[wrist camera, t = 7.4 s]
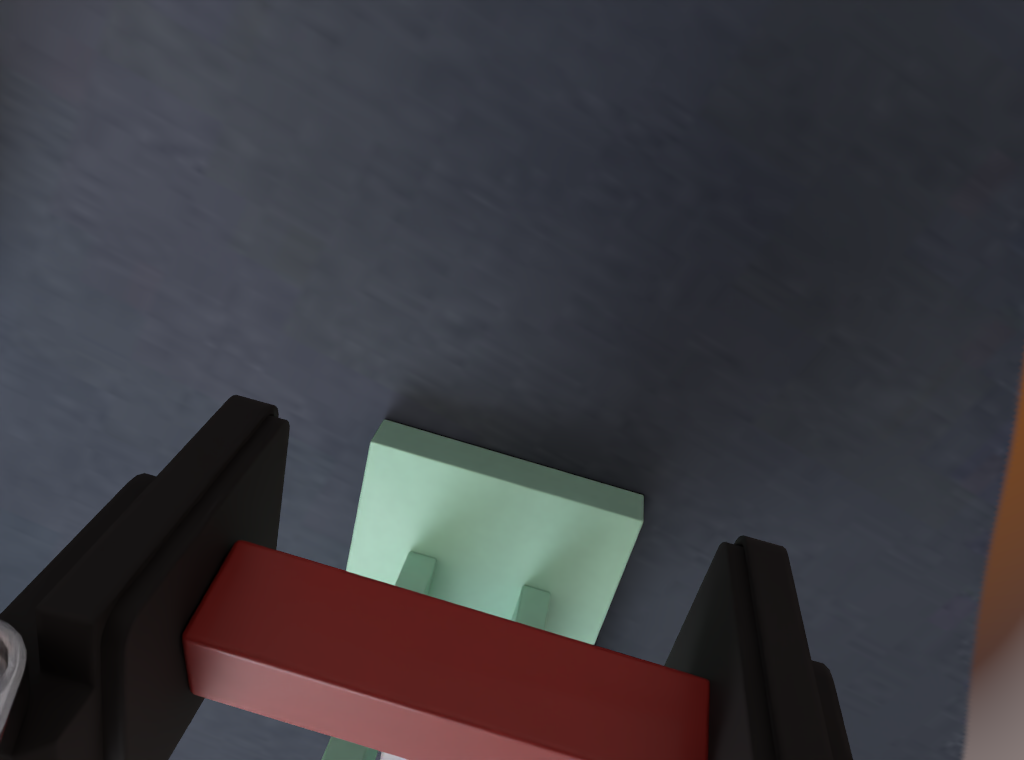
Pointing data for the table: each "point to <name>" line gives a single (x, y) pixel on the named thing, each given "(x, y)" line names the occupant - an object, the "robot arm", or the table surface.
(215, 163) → the table surface
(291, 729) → the table surface
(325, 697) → the lever
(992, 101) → the table surface
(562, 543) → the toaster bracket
